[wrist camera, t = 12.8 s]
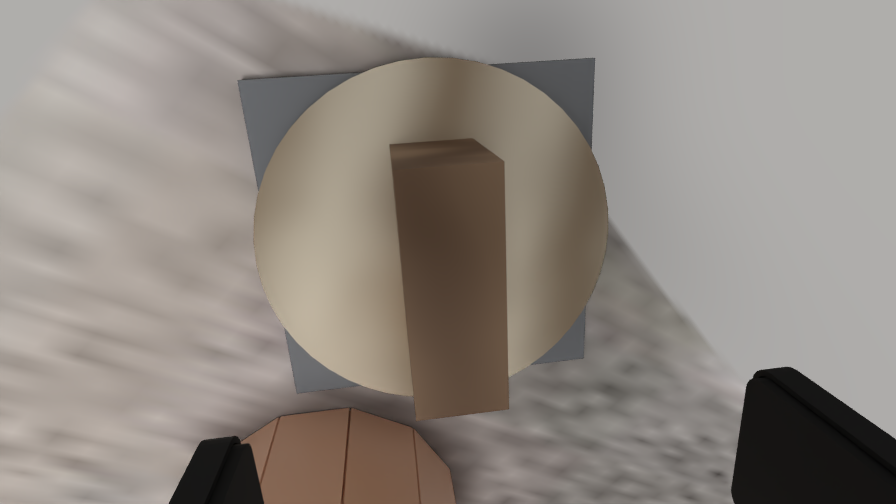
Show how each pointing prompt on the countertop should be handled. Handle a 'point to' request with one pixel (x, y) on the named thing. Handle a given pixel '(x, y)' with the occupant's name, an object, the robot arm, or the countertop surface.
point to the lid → (431, 231)
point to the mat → (288, 98)
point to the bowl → (347, 461)
